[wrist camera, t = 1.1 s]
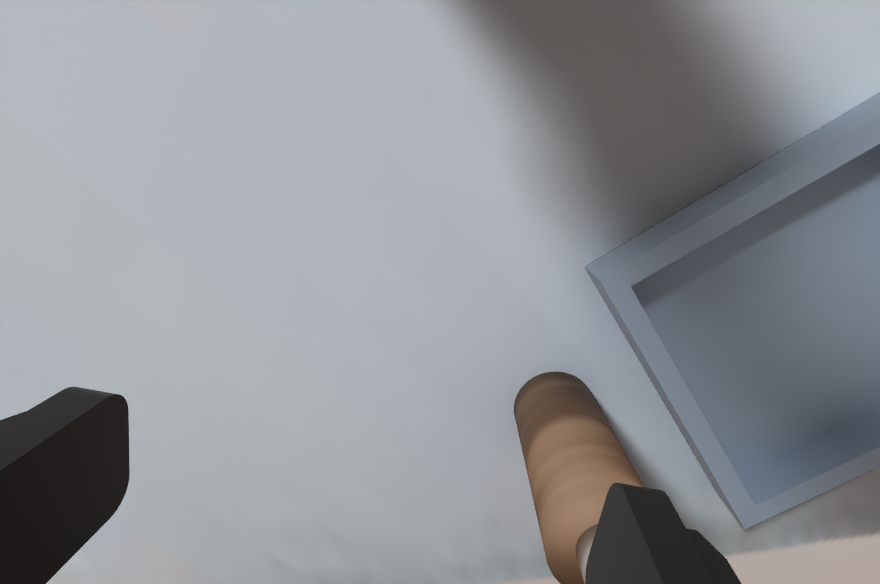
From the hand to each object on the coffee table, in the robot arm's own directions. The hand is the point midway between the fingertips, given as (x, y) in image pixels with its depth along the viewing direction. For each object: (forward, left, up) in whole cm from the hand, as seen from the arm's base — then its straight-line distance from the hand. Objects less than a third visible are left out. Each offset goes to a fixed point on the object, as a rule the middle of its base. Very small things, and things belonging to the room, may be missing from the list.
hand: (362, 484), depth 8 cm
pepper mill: (+13, +1, -22) cm, 26 cm away
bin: (+15, +16, -22) cm, 31 cm away
